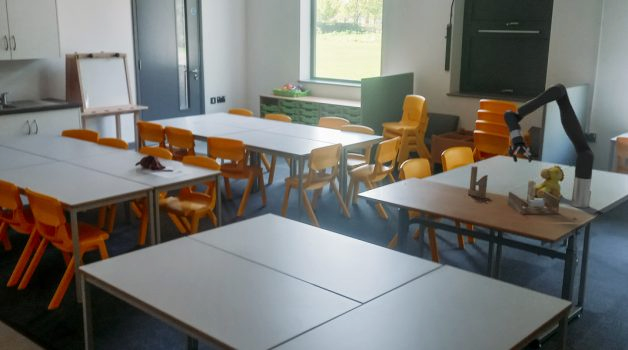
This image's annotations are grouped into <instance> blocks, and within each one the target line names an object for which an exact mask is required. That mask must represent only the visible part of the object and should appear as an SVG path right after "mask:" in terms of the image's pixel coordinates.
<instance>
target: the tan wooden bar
mask: <svg viewBox="0 0 628 350" xmlns="http://www.w3.org/2000/svg"><path fill="white" fill-rule="evenodd" d="M527 184H528V185H527V192H526V200H525V201H526V202H528V201H529V200H535V196H534V195H535V186H537V182H536V181H534V180H528V182H527Z"/></svg>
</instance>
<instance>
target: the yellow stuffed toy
mask: <svg viewBox="0 0 628 350" xmlns="http://www.w3.org/2000/svg"><path fill="white" fill-rule="evenodd" d="M564 176H565V173H564V171H563V169H562V167H561V166H559V165H556V164H554V166H550V167H548V168H543V169H542V170H541V171H540V177H541V178H542V179H544V181H542V182H541V183H539V184H536V186H535V195H534V198H536V197H537V198H538V199H543V194H544V192H547V193H549V194H551V195H553V196H554V197H556V198H558V199H560V198H561V197H568V195H567V194H565V196H563V195H564V194H561V184H560V183H559V182H563V181H564V179H565V177H564Z"/></svg>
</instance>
